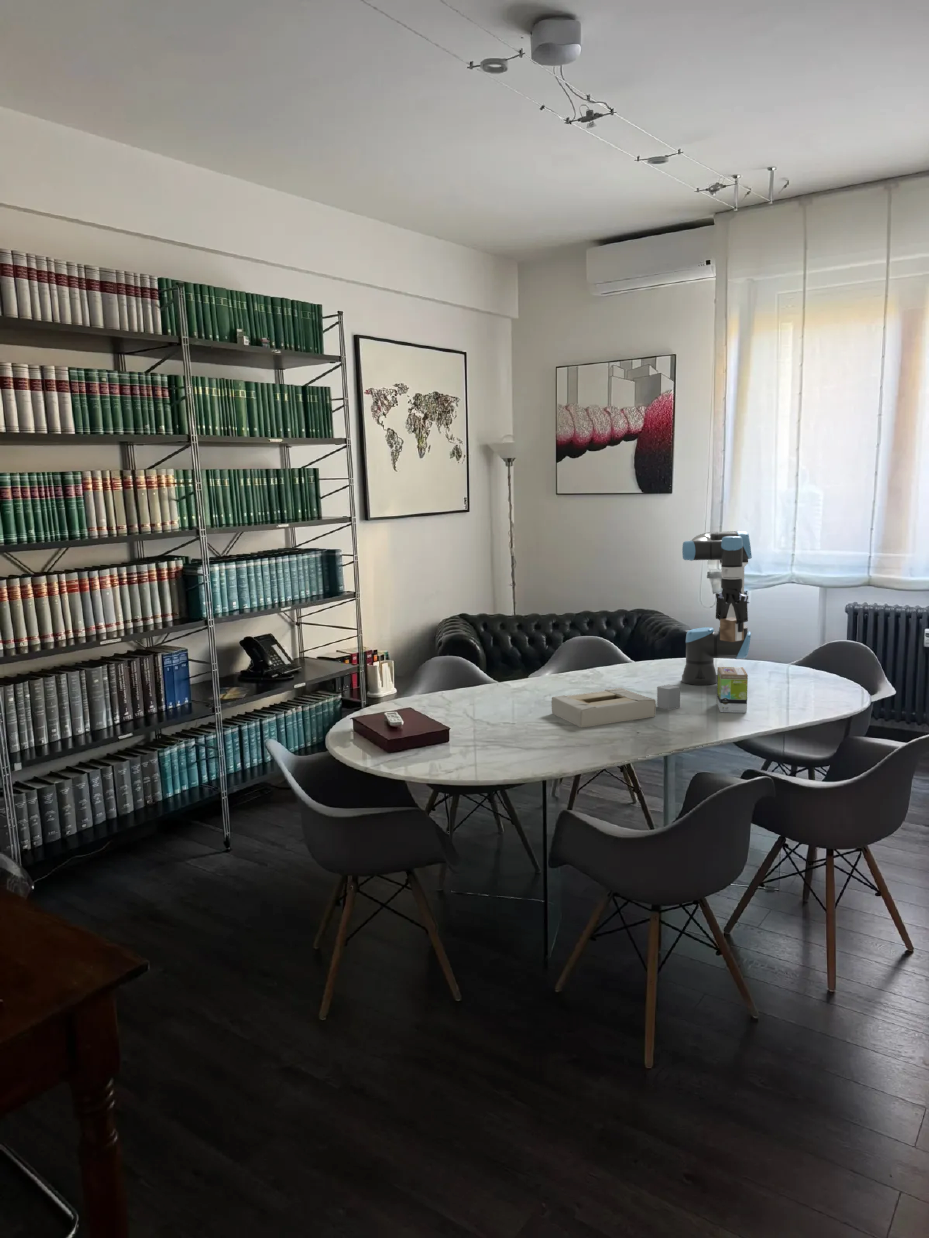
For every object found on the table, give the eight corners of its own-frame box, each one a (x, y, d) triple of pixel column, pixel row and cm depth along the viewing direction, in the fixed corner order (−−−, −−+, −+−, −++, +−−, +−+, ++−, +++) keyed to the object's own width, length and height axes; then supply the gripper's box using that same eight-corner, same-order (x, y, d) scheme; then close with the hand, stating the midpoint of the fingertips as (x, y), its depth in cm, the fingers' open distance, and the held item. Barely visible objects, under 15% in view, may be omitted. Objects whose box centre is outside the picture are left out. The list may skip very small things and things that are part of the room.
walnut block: (720, 640, 323) (719, 619, 322) (731, 638, 326) (731, 617, 325) (732, 642, 318) (732, 620, 316) (743, 639, 321) (743, 618, 319)
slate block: (657, 706, 331) (657, 686, 330) (668, 704, 335) (668, 684, 333) (668, 709, 326) (668, 689, 325) (679, 707, 329) (679, 687, 328)
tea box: (747, 713, 317) (748, 674, 315) (719, 712, 319) (719, 673, 317) (743, 703, 332) (743, 666, 330) (716, 703, 334) (716, 665, 332)
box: (581, 729, 305) (656, 717, 317) (580, 708, 304) (656, 696, 316) (550, 716, 327) (622, 705, 339) (549, 696, 326) (621, 686, 338)
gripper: (705, 577, 324) (705, 637, 328) (745, 580, 308) (744, 643, 312) (719, 575, 328) (719, 635, 332) (759, 578, 312) (758, 641, 315)
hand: (731, 639), depth 322 cm, fingers closed on walnut block, 6 cm apart
